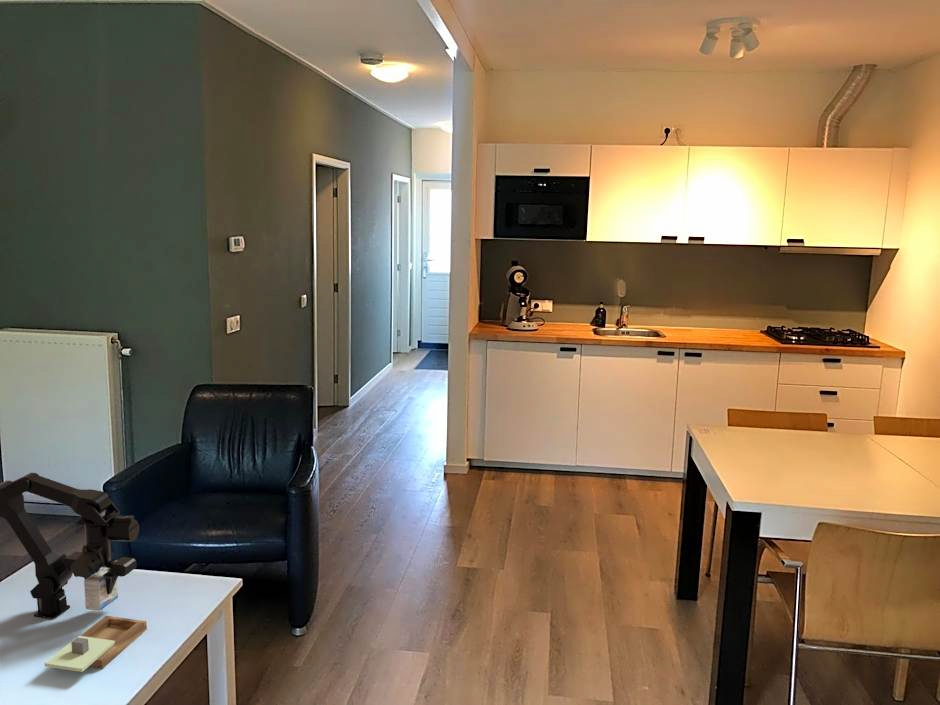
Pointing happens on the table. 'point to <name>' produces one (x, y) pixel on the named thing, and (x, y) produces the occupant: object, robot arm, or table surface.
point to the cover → (80, 653)
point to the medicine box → (98, 591)
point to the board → (115, 636)
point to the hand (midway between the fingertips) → (101, 592)
